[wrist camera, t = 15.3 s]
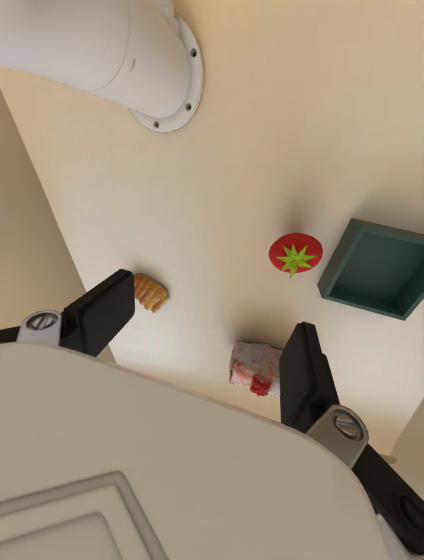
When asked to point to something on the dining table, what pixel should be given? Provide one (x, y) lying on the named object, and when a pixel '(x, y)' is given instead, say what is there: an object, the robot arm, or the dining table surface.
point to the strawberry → (295, 253)
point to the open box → (376, 270)
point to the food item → (255, 367)
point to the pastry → (150, 293)
